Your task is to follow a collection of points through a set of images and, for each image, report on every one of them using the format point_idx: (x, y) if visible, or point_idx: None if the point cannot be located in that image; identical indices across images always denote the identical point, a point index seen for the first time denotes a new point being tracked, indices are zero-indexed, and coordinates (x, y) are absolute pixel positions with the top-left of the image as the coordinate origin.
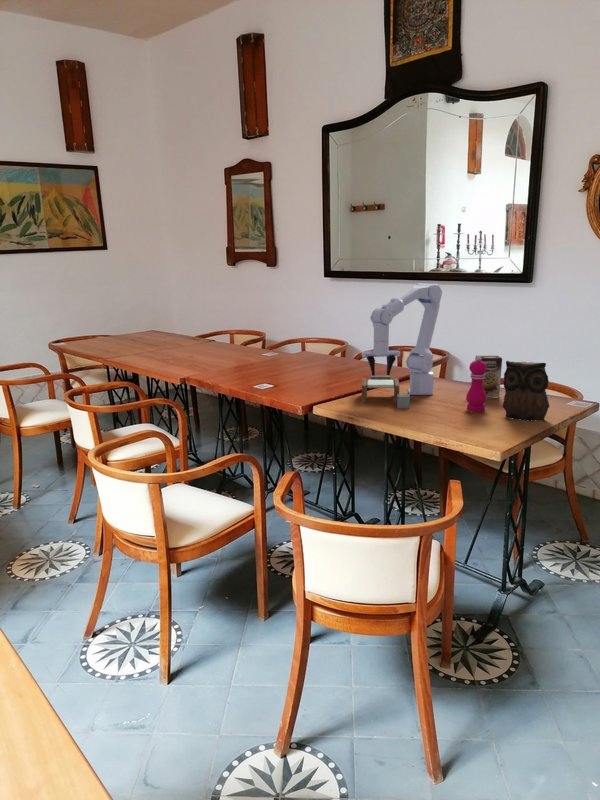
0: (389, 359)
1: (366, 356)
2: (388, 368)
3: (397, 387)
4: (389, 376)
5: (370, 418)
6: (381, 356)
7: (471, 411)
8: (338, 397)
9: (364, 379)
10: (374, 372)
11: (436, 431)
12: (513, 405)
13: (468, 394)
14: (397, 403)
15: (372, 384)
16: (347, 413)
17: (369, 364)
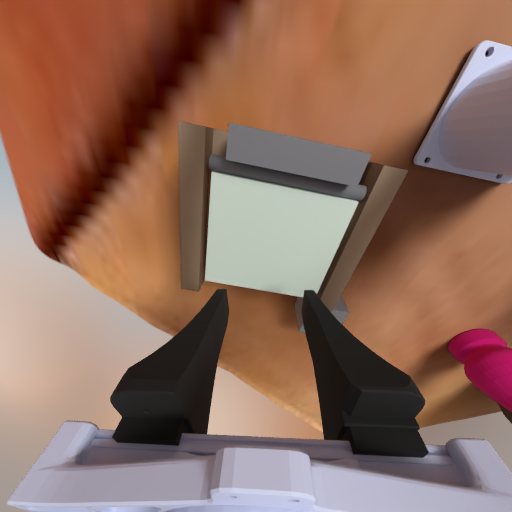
0: (325, 439)
1: (114, 447)
2: (311, 347)
3: None
4: (352, 177)
5: None
6: (267, 446)
7: (449, 350)
8: (107, 160)
9: (189, 165)
10: (224, 330)
11: (312, 404)
12: (508, 419)
13: (485, 386)
14: (296, 315)
15: (226, 279)
16: (169, 323)
17: (178, 336)
